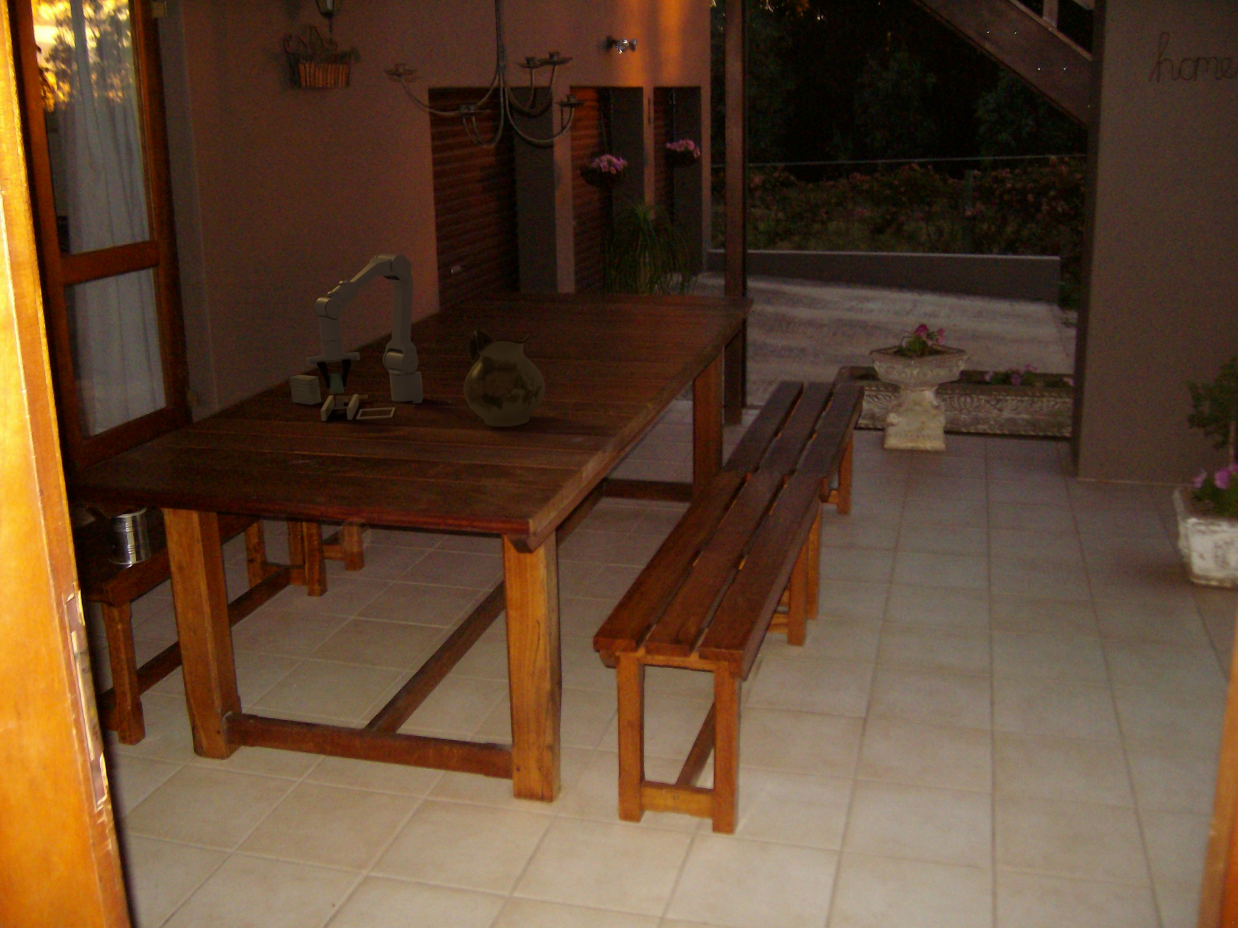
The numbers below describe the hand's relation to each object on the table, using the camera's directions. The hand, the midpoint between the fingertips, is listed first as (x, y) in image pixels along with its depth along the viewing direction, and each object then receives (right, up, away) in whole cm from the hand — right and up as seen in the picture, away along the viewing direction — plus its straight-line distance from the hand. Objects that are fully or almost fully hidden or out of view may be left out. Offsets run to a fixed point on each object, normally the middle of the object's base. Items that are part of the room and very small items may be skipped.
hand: (336, 387), depth 350 cm
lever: (+2, -6, +8) cm, 10 cm away
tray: (+11, -8, +3) cm, 14 cm away
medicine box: (-13, -4, +20) cm, 24 cm away
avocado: (0, -2, 0) cm, 2 cm away
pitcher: (+48, -10, -6) cm, 50 cm away
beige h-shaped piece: (0, -8, +6) cm, 10 cm away
